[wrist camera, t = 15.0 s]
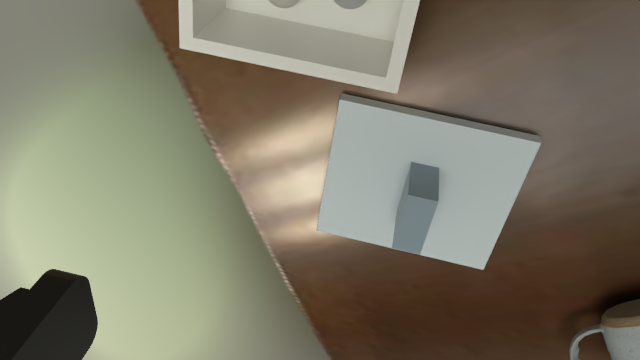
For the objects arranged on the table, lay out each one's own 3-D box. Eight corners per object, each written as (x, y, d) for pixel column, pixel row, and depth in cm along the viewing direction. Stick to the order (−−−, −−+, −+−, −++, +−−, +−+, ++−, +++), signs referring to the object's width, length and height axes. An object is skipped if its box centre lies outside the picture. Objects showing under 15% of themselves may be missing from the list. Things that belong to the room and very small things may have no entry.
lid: (537, 128, 46) (550, 177, 40) (482, 253, 55) (486, 308, 49) (344, 87, 47) (329, 128, 41) (320, 215, 56) (305, 264, 50)
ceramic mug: (650, 288, 54) (700, 300, 47) (681, 365, 54) (737, 390, 46) (551, 322, 55) (585, 341, 47) (581, 400, 54) (621, 431, 46)
